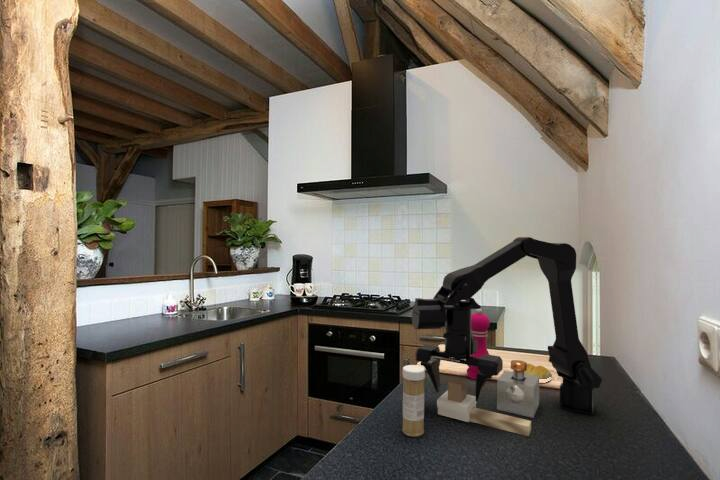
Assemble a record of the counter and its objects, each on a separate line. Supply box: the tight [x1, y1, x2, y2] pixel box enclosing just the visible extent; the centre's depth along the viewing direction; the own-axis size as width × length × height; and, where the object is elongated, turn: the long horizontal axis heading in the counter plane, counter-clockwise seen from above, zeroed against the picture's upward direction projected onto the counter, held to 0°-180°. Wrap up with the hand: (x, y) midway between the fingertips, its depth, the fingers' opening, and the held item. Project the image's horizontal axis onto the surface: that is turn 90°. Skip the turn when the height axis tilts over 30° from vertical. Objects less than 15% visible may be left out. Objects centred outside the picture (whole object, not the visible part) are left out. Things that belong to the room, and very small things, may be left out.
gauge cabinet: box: [496, 370, 540, 419], centre depth 94 cm, size 8×8×7 cm
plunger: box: [510, 359, 528, 381], centre depth 95 cm, size 4×4×6 cm
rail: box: [469, 407, 532, 437], centre depth 87 cm, size 19×3×2 cm, turn 58°
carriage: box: [436, 376, 477, 423], centre depth 90 cm, size 7×7×8 cm
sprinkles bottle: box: [401, 364, 426, 438], centre depth 82 cm, size 5×5×14 cm
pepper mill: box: [466, 307, 491, 380], centre depth 115 cm, size 7×7×20 cm
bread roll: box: [524, 363, 553, 379], centre depth 115 cm, size 8×9×4 cm
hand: (457, 396), depth 90 cm, fingers open, 9 cm apart
